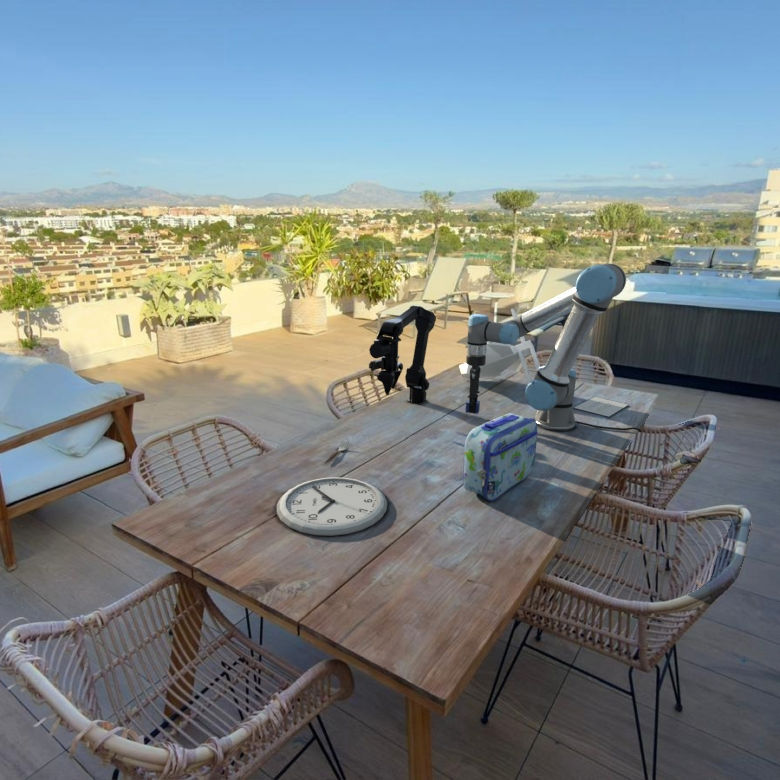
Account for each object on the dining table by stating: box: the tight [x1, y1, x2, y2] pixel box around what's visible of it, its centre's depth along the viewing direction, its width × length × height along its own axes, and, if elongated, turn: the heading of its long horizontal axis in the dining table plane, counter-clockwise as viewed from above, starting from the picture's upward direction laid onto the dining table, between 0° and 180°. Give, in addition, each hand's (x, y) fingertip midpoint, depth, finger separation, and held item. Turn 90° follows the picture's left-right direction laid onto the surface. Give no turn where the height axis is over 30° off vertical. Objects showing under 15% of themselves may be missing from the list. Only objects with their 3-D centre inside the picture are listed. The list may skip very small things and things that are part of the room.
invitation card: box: [573, 396, 629, 418], centre depth 226 cm, size 21×1×15 cm
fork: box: [325, 439, 350, 464], centre depth 174 cm, size 3×16×2 cm, turn 160°
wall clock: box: [276, 476, 388, 537], centre depth 142 cm, size 30×2×30 cm
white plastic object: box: [458, 308, 541, 385], centre depth 254 cm, size 37×45×31 cm
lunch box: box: [462, 412, 538, 502], centre depth 152 cm, size 26×11×21 cm, turn 135°
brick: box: [465, 399, 481, 415], centre depth 210 cm, size 4×5×4 cm
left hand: (390, 391), depth 210 cm, fingers open, 9 cm apart
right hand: (472, 410), depth 211 cm, fingers closed on brick, 4 cm apart
